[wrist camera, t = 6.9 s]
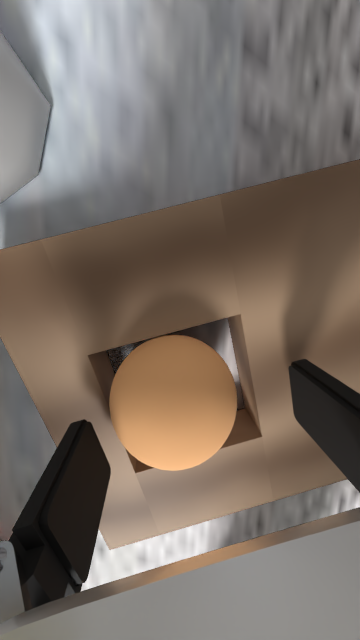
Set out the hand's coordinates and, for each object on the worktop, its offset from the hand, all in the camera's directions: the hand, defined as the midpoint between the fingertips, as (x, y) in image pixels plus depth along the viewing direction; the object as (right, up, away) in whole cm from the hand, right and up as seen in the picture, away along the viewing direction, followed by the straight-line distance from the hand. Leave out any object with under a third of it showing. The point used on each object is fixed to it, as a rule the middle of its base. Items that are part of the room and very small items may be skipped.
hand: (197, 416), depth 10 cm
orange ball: (-1, +1, +1) cm, 2 cm away
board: (+7, +3, +4) cm, 8 cm away
